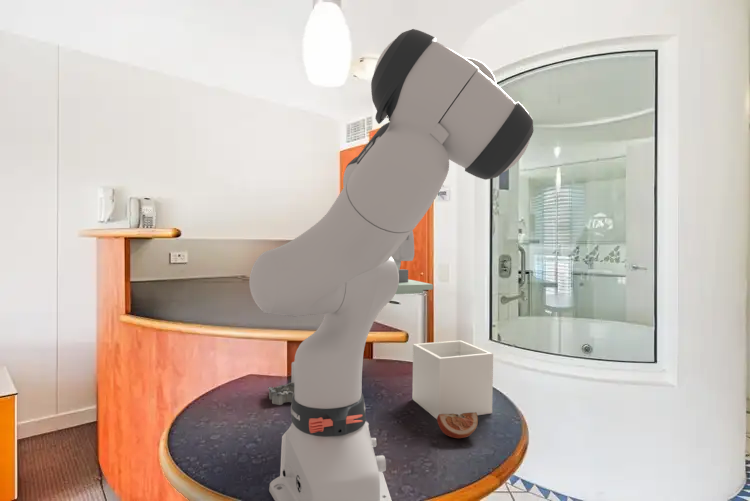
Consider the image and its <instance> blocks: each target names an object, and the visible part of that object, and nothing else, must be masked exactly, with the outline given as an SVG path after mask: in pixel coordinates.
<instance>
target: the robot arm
mask: <svg viewBox="0 0 750 501" xmlns="http://www.w3.org/2000/svg"><path fill="white" fill-rule="evenodd" d="M370 82H371V84H370V86H371V87H370V88H371V89H370V90H371V99H372V103H373V105H374V107H375V110H376V113H375V121H376V123H377V124H378V125H380V124H382V123H383V122H384V120H386V118H388V122H387V123H385V124H383V125H382V126H381V127H379V129H378V130H377V131H376V132H375V133H374V134H373V136H372V137H371V138H370V140H369V141H368V142H367V144H366V145H365V146H364V148H363V149H362V150H361V152H360V153H359V154H358V156H356V157H354V158H353V159H352V160H351V161H349V163H348V164H347V165H346V166H345V170H344V172H343V176H342V177H343V178H342V184H343V188H342V190H341V191H340V192H339V195H338V196H337V197H336V199H335V201H334V202H333V204H332V205H331V207H330V208H329V210H328V211H327V212H326V214H325V215H324V216H323V217H322V218H321V219H320V220H318V222H316V223H315V224H313V225H312V226H311V227H310V228H309V229H307V230H306V231H304V232H303V233H301V234H300V235H299V236H297V237H295V238H294V239H292V240H290V241H289V242H287V243H285V244H282V245H280V246H277V247H275V248H272V249H269V250H266V251H263V252H262V253H261V254H260V255H259V256H258V257H257V258H256V260H255V261H254V263H253V265H252V267H251V271H250V274H249V281H248V282H249V283H248V284H249V290H250V294H251V298H252V299H253V301H254V303H255V304H256V306H257V307H258V308H259V309H260V310H261V311H262V312H263V313H264V314H268V315H276V316H284V317H286V316H287V317H306V316H316V315H317V316H318V315H323V318H322V320H321V323H320V325H319V326H318V328H317V329H316V331H315V332H313V333H312V334H311V335H309V336H308V337H306V338H305V339H304V340H302V342H301V343H300V344H299V345H298V348H297V349H296V351H295V355H294V361H295V377H294V396H293V397H292V403H290V404H291V405H290V416H291V417H290V420H291V424H290V426H289V428H288V429H287V430H286V431H285V432H284V433H283V435H282V437H281V448H280V449H281V450H280V469H279V470H280V471H279V474H280V475H279V476H277V477H276V478H274V479H273V480H271V482H270V483H269V488H268V491H269V493H270V495H271V497H272V498H273V500H274V501H393V500H392V497H391V494H390V491H389V487H388V485H387V481H386V479H385V475H384V472H386V470H387V461H386V456H385V455H383V454H382V455H376V454H375V449H374V448H376V447H377V445H378V444H377V438H376V437H372V436H371V433H370V428H369V427H370V426H369V425H370V424H369V422H368V421H367V417H366V410H367V409H366V404H365V397H364V396H365V395H364V394H363V393H362V382H363V381H362V379H363V363H364V362H363V361H364V351H365V347H366V343H367V339H368V336H369V333H370V332H371V329H372V327H373V324H374V322H375V321H376V319H377V317H378V315H379V313H380V312H381V311H382V310H383V309H384V307H385V306H386V305H387V304H388V303H389V302H391V301H392V300H393V299H394V297H395V295H397V294H396V291H397V288H398V284H399V269H400V268H401V265H402V263H401V262H412V261H413V260H414V258H415V239H414V238H415V236H414V231H413V230H414V229H415V228H416V227H417V225H418V224H419V223H420V222H421V221H422V220H423V218H424V216H425V215H426V213H427V212H428V211H429V209H430V208H431V206H432V205H433V203H434V201H435V199H436V198H437V196H438V195H439V192H440V191H441V189H442V187H443V185H444V184H445V183H444V182H445V181H446V178H447V177H448V173H449V170H450V161H451V162H453V163H454V164H456V165H458V166H460V167H463V168H464V172H466V173H468V174H469V175H471V176H475V177H476V178H479V179H483V180H485V181H486V180H490V179H496V178H497V177H499V176H500V175H501V174H503V173H505V172H506V171H509V170H510V169H511V168H513V167H514V166H515V165H516V164H517V163H518V161H519V160H520V159H521V158H522V157H523V155H524V154H525V153H526V150H527V148H528V146H529V144H530V140H531V137H532V136H533V133H534V130H535V129H534V119H533V117H532V116H531V114H530V113H529V111H527V109H526V108H525V106H524V105H523V104H521V102H520V101H516V102H515V101H514V99H512V97H510V96H509V95H508V94H507V93H506V92H505V91H504V90H503V89H502V88H501V87H500V86H499V85H498V84H497V80H496V77H495V75H494V74H493V72H492V70H491V69H490V68H489V67H488V66H487V65H486V64H485V63H484V62H482V61H480V60H478V59H476V58H472V57H466V56H465V57H464V56H462V55H461V54H459V53H458V52H456V51H455V50H453V49H450V48H449V47H447V46H445V45H443V44H441V43H439V42H438V41H437V38H436V37H435V36H433V35H430V34H429V33H426V32H424V31H421V30H419V29H416V28H415V29H414V28H412V29H408V30H406V31H402V32H401V33H400V34H399V35H398V36H396V38H395V39H394V40H392V41H391V42H390V43H389V44H388V45H387V46H386V47H385V48H384V49H383V51H382V52H381V53H380V56H379V57H378V60H377V61H376V65H375V67H374V71H373V75H372V78H371V81H370Z"/></svg>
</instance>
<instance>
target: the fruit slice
mask: <svg viewBox="0 0 750 501" xmlns="http://www.w3.org/2000/svg"><path fill="white" fill-rule="evenodd" d="M478 416H479V415H477V412H474V413H473V412H472V413H463V414H460V415H458V414H454V413H453V414H439V415H438V417H437V419H436V422H437V425H438V427H439V429H440V431H441V432H442V433H443V434H444V435H446V436H448V437H450V438H453V439H463V438H467V437H470V435H472V434H473V433H474V432H475V431H476V429H477V427H478V424H479V423H478V422H479V417H478Z"/></svg>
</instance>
